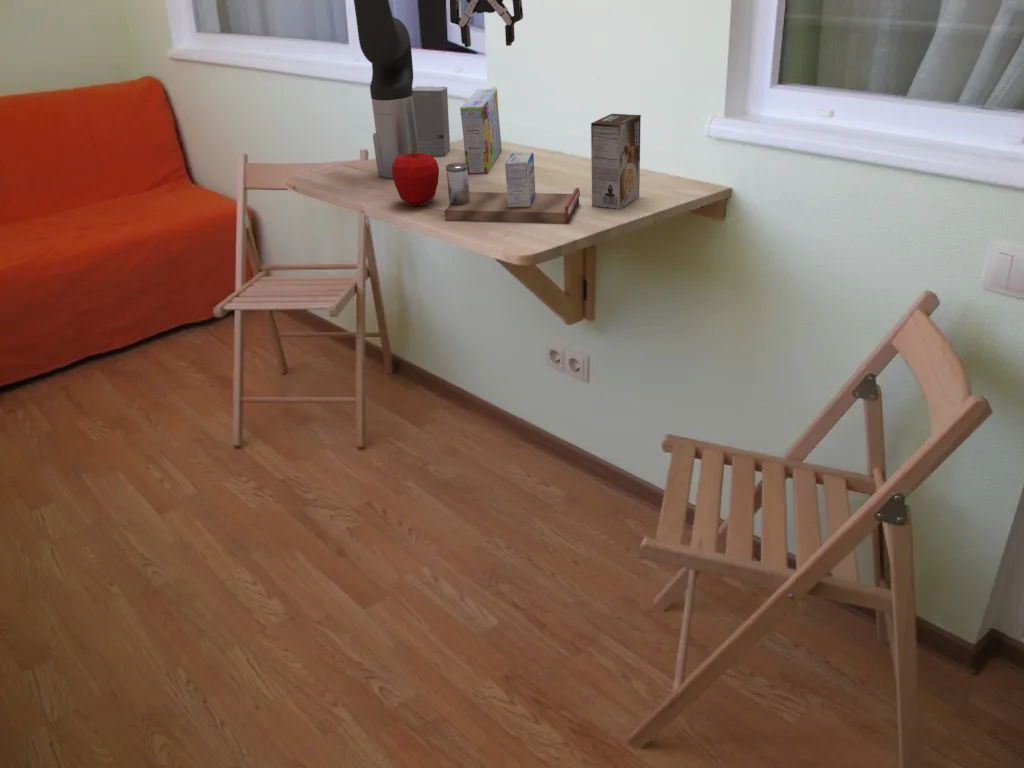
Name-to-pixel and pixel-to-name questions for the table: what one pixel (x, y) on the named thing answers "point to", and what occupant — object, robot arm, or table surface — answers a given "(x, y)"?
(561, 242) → the table surface
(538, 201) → the brown wooden board
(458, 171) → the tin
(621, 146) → the coffee box
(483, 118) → the snack box
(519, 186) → the medicine box
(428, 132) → the skincare box
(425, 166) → the apple
